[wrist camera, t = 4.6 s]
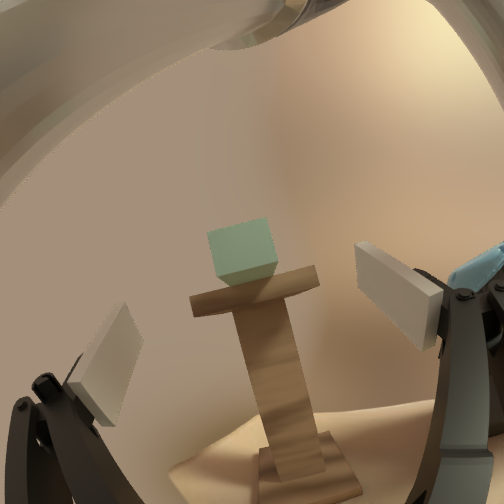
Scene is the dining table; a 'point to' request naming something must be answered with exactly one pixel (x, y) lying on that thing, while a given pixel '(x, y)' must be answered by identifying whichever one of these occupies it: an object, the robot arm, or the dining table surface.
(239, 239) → the sage bar
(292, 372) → the walnut stand
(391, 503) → the dining table surface
